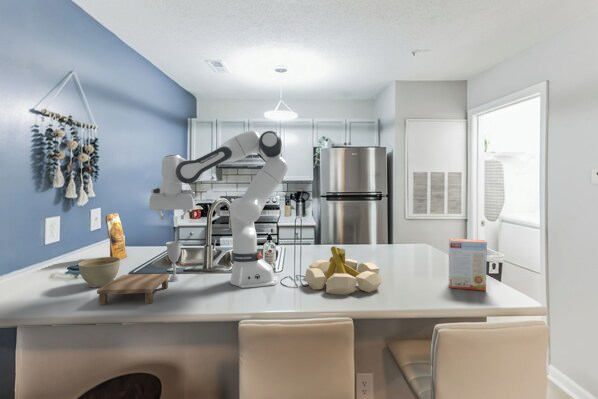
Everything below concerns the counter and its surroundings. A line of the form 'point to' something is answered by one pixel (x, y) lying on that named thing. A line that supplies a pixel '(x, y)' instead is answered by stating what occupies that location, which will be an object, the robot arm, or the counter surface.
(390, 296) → the counter surface
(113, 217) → the pancake mix bag
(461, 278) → the cracker box
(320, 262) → the campfire
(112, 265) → the planter bowl
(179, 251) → the chalice
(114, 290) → the stool
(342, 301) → the counter surface
